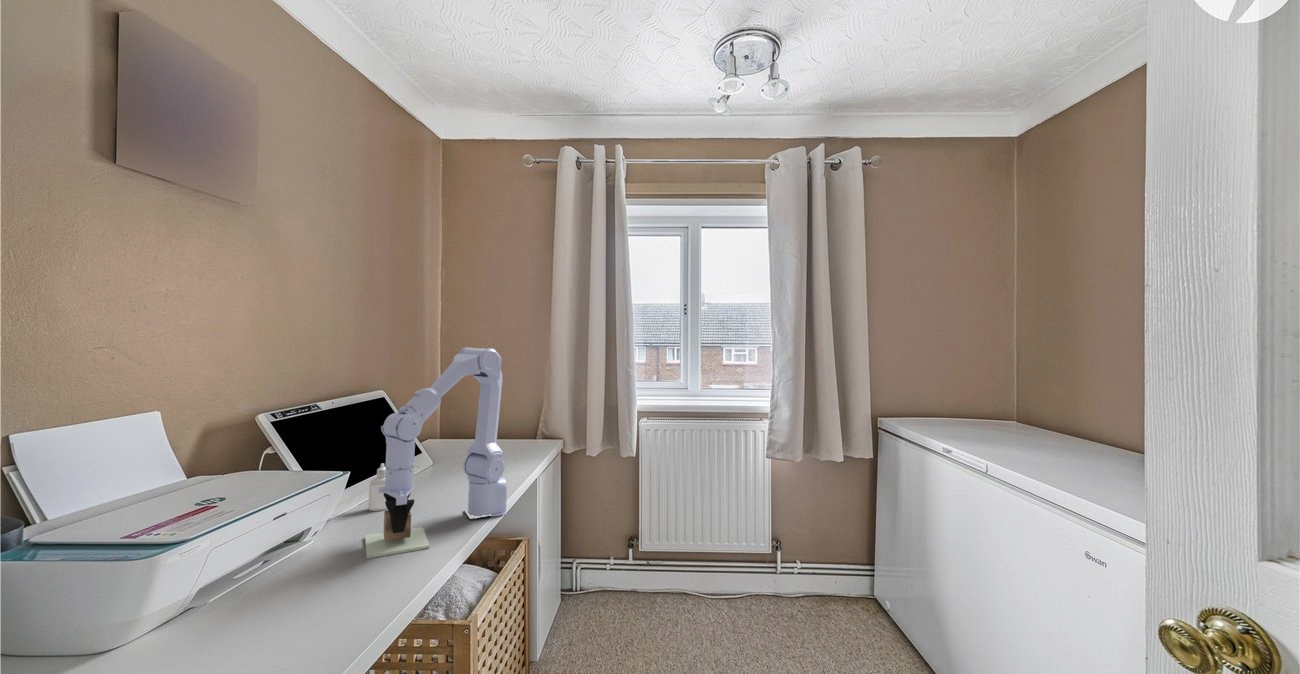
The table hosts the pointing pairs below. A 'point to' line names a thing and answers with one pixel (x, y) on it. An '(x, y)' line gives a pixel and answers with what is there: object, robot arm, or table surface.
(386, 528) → the walnut cube
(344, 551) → the table surface
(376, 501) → the eye dropper bottle
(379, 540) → the sage board
